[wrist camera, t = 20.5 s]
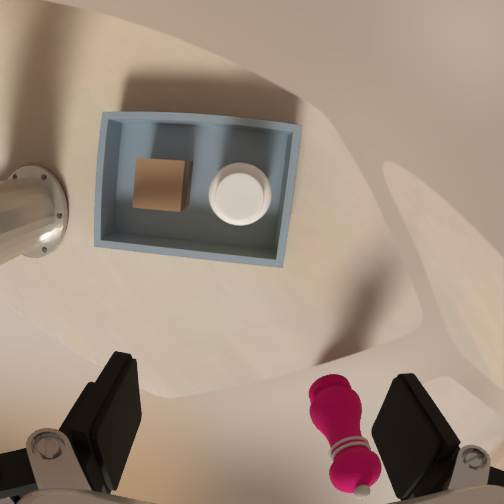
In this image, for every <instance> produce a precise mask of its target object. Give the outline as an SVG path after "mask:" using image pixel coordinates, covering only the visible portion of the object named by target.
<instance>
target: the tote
mask: <svg viewBox="0 0 504 504" xmlns="http://www.w3.org/2000/svg"><path fill="white" fill-rule="evenodd" d="M301 130H302V125H296V124H290V123H283V122H275V121H268V120H260V119H251V118H242V117H232V116H221V115H209V114H194V113H174V112H102V120H101V128H100V137H99V147H98V158H97V171H96V187H95V214H94V247H102V248H111V249H119V250H127V251H135V252H144V253H152V254H161V255H169V256H178V257H187V258H196V259H204V260H213V261H222V262H231V263H240V264H250V265H259V266H268V267H277V268H283V263H284V256H285V250H286V243H287V236H288V229H289V222H290V215H291V208H292V200H293V193H294V186H295V178H296V170H297V163H298V155H299V147H300V138H301ZM136 158H153V159H169V160H183V161H193V169H192V179H191V189H190V200H189V206H188V207H186V208H185V209H184V210H182V211H181V212H175V211H164V210H154V209H143V208H133V192H134V178H135V166H136ZM233 163H247V164H251V165H253V166H255V167H257V168H258V169H260V170H261V171H262V172H263V173H264V174H265V175H266V177H267V178H268V180H269V182H270V185H271V190H272V198H271V203H270V206H269V208H268V210H267V211H266V213H265V214H264V215H263V216H262V217H261V218H260V219H258V220H257V221H255V222H253V223H251V224H247V225H233V224H229V223H227V222H225V221H223V220H222V219H220V218H219V217H218V216H217V215H216V214H215V212H214V211H213V209H212V207H211V205H210V202H209V195H208V194H209V186H210V183H211V181H212V179H213V177H214V176H215V174H216V173H217V172H218V171H219V170H221V169H222V168H223V167H225V166H227V165H230V164H233Z"/></svg>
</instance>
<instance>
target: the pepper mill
mask: <svg viewBox="0 0 504 504" xmlns="http://www.w3.org/2000/svg"><path fill="white" fill-rule="evenodd" d="M309 398H310V402H311V406H310V416H311V419H312V422H313V424H314V425H315V426H316V428H317V429H318V430H320V431H321V432H322V433H323V434H324V435H325V436H326V438H327V440H328V441H329V444H330V447H331V449H330V451H329V458H330V462H331V464H332V465H331V467H330V471H329V476H330V480H331V482H332V484H333V485H334V486H335V488H337V489H338V490H340V491H342V492H346V493H354V495H355V497H356V498H358V499H364V498H366V497H367V496H368V495H369V494H370V488H369V487H370V486H371V485H373V484H374V483H375V482H376V481H377V480H378V478H379V476H380V473H381V462H380V459H379V457H378V456H377V454H376V453H374V452H373V451H371V448H370V446H369V442H368V440H367V439H365V438H364V437H362V435H361V431H360V419H361V413H362V407H361V401H360V398H359V396H358V394H357V393H356V392H355V391H354V390H352V389H351V386H350V384H349V382H348V380H347V379H346V378H345V377H343V376H341V375H337V374H330V375H326V376H323V377H321V378H319V379H318V380H316V381H315V382H314V383H313V384H312V386H311V387H310V390H309Z"/></svg>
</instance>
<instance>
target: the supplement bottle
mask: <svg viewBox="0 0 504 504" xmlns="http://www.w3.org/2000/svg"><path fill="white" fill-rule="evenodd" d="M208 195H209V202H210V205H211V207H212V209H213V211H214V212H215V214H216V215H217V216H218V217H219V218H220V219H222V220H223V221H225V222H227V223H229V224H233V225H247V224H251V223H253V222H255V221H257V220H258V219H260V218H261V217H262V216H263V215H264V214H265V213H266V211H267V210H268V208H269V206H270V203H271V198H272V190H271V185H270V182H269V180H268V178H267V177H266V175H265V174H264V173H263V172H262V171H261V170H260V169H258V168H257V167H255V166H253V165H251V164H247V163H233V164H230V165H227V166H225V167H223V168H222V169H221V170H219V171H218V172H217V173H216V174H215V176H214V177H213V179H212V181H211V183H210V186H209V194H208Z"/></svg>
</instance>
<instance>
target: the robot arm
mask: <svg viewBox="0 0 504 504" xmlns="http://www.w3.org/2000/svg"><path fill="white" fill-rule="evenodd" d="M67 220H68V209H67V201H66V197H65V194H64V191H63V189H62V186H61V185H60V183H59V181H58V180H57V178H56V177H55V176H54V175H53V174H52V173H51V172H50V171H48V170H47V169H45V168H43V167H41V166H35V165H31V166H24V167H21V168H19V169H17V170H16V171H14V172H13V173H12V174H11V175H10V176H9V178H8V179H7V180H6V181H0V265H2V264H4V263H6V262H8V261H10V260H12V259H14V258H16V257H18V256H20V255H24V256H26V257H30V258H40V257H43V256H46V255H48V254H49V253H51V252H52V251H54V250H55V249H56V248H57V246H58V245H59V244H60V242H61V241H62V239H63V237H64V234H65V231H66V227H67ZM141 416H142V412H141V404H140V395H139V384H138V372H137V361H136V359H133V358H132V356H131V354H128V353H123V352H117V351H115V352H114V353H113V355H112V356H111V358H110V359H109V361H108V363H107V364H106V366H105V367H104V369H103V371H102V372H101V374H100V375H99V377H98V379H97V380H96V382H95V383H94V382H89V383H88V384H87V385H86V387H85V388H84V390H83V391H82V393H81V394H80V396H79V398H78V399H77V401H76V402H75V404H74V406H73V407H72V409H71V410H70V412H69V414H68V415H67V417H66V419H65V420H64V422H63V424H62V425H61V427H60V428H59V430H56V429H51V428H46V429H45V428H44V429H40V430H37V431H35V432H34V433H32V434H31V435H30V436H29V437H28V439H27V442H26V448H24V449H20V450H16V451H12V452H7V453H2V454H0V504H156V503H150V502H145V501H140V500H135V499H130V498H126V497H121V496H116V495H111V494H110V492H111V490H116V489H117V487H118V484H119V481H120V479H121V475H122V473H123V470H124V467H125V464H126V461H127V458H128V456H129V453H130V450H131V447H132V444H133V441H134V439H135V436H136V433H137V430H138V428H139V425H140V422H141ZM372 437H373V439H374V442H375V444H376V447H377V449H378V452H379V454H380V456H381V459H382V461H383V464H384V466H385V469H386V471H387V474H388V477H389V479H390V482H391V484H392V487H393V489H394V492H395V494H396V497H397V498H398V499H401V501H399V502H394V503H389V504H504V471H502V470H499V469H496V468H494V467H491V466H490V457H489V455H488V454H487V452H486V451H485V450H483V449H482V448H480V447H478V446H475V445H467V446H464V447H462V448H461V449H460V447H459V444H460V443H461V442H460V440H459V439H458V437H457V436H456V434H455V433H454V431H453V430H452V428H451V427H450V425H449V424H448V422H447V421H446V419H445V418H444V416H443V415H442V413H441V412H440V410H439V409H438V407H437V406H436V404H435V403H434V401H433V400H432V399H431V397H430V396H429V394H428V393H427V391H426V390H425V388H424V387H423V386H422V384H421V383H420V382H419V380H418V379H417V377H416V376H415V375H414V374H412V373H409V374H399V375H398V376H397V378H394V379H393V381H392V384H391V386H390V388H389V391H388V393H387V395H386V398H385V400H384V402H383V405H382V407H381V409H380V411H379V414H378V416H377V418H376V420H375V422H374V425H373V427H372Z"/></svg>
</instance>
